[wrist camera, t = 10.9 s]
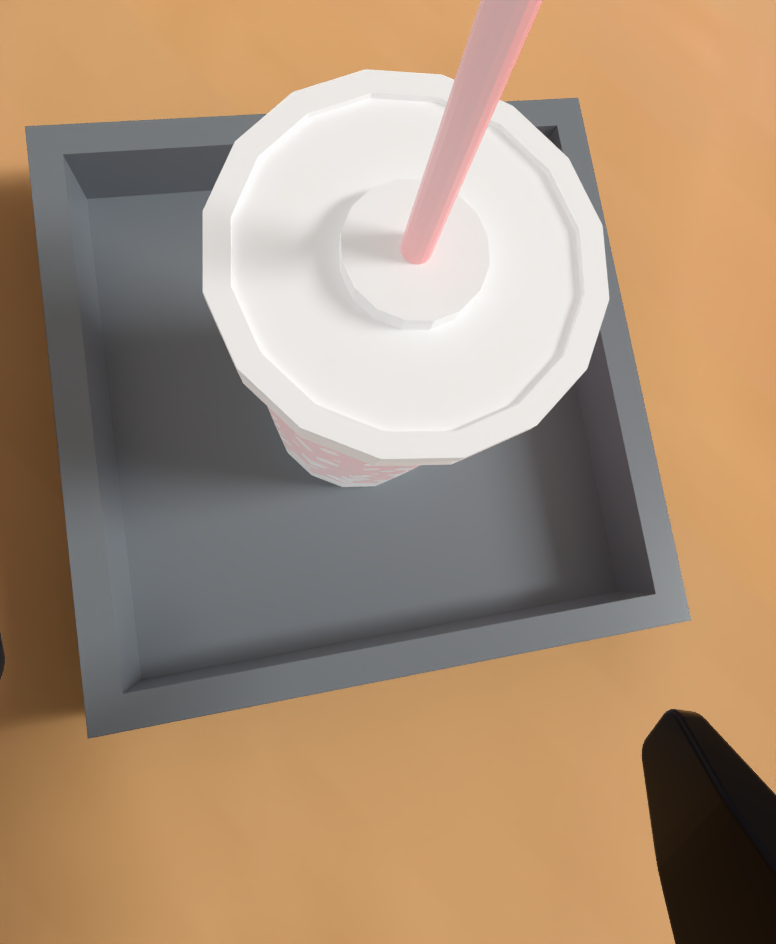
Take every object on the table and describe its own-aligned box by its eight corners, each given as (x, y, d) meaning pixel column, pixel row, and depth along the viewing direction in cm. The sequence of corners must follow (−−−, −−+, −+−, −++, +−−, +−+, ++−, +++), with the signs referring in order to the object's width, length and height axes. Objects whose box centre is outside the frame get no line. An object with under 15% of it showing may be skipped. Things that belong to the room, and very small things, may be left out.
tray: (121, 710, 17) (87, 738, 15) (65, 194, 19) (24, 126, 16) (632, 613, 20) (691, 620, 17) (538, 162, 22) (578, 97, 19)
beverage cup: (380, 263, 19) (595, -496, 6) (505, 434, 19) (1051, 77, 5) (199, 376, 18) (-97, -242, 4) (330, 561, 18) (455, 522, 4)
